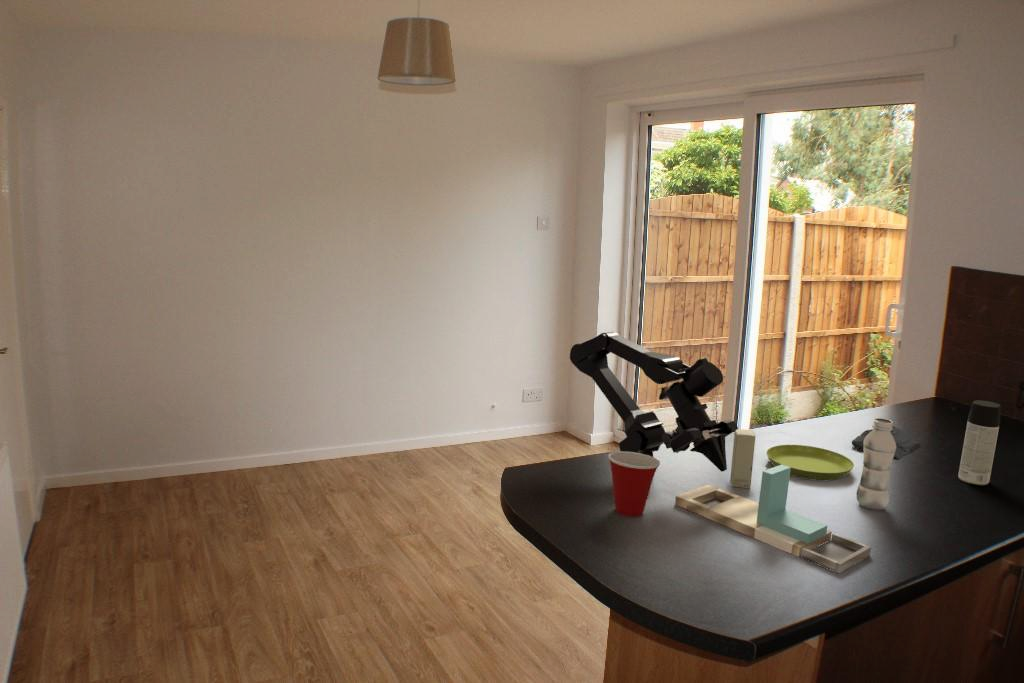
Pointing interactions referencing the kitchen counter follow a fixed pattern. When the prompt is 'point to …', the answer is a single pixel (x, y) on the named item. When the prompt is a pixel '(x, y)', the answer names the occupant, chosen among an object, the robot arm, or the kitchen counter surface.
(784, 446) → the saucer
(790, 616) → the kitchen counter surface
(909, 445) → the dark grey crumpled cloth
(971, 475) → the spray can
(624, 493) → the plastic cup
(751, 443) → the box
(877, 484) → the plastic bottle
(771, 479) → the teal L-block
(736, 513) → the birch board
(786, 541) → the cream pad
